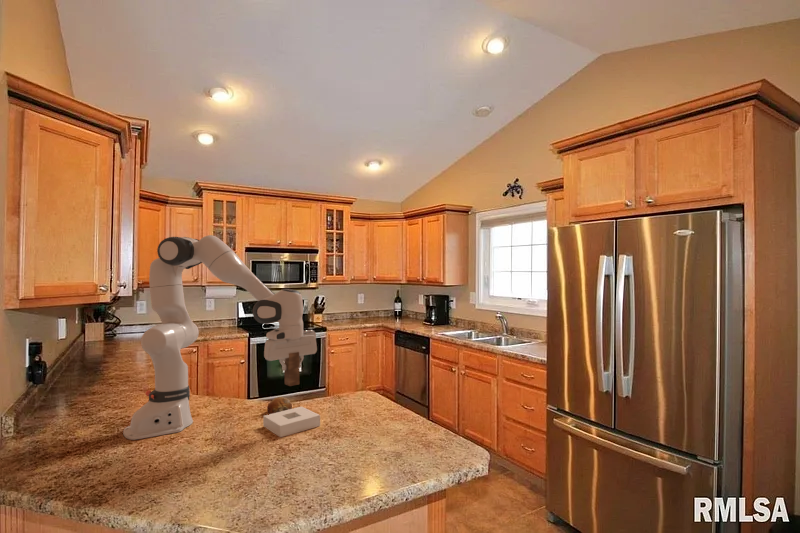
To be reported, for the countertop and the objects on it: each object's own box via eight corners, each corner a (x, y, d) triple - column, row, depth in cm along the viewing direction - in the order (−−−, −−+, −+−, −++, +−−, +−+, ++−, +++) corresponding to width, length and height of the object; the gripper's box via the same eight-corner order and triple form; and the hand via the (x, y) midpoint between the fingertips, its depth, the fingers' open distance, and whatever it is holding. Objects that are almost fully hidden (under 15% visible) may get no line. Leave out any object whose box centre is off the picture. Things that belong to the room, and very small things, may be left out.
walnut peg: (289, 386, 155) (289, 353, 155) (284, 384, 158) (284, 352, 158) (299, 384, 158) (299, 352, 158) (294, 382, 161) (293, 350, 161)
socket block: (280, 437, 147) (280, 425, 147) (263, 426, 158) (263, 415, 158) (320, 425, 158) (320, 415, 158) (301, 416, 168) (301, 406, 168)
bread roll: (293, 419, 176) (296, 399, 179) (285, 416, 167) (288, 395, 170) (271, 418, 177) (274, 398, 180) (261, 415, 168) (265, 394, 171)
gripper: (311, 328, 167) (311, 363, 167) (262, 334, 154) (262, 372, 154) (319, 330, 163) (320, 365, 163) (269, 336, 149) (270, 375, 149)
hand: (291, 368), depth 158 cm, fingers closed on walnut peg, 4 cm apart
